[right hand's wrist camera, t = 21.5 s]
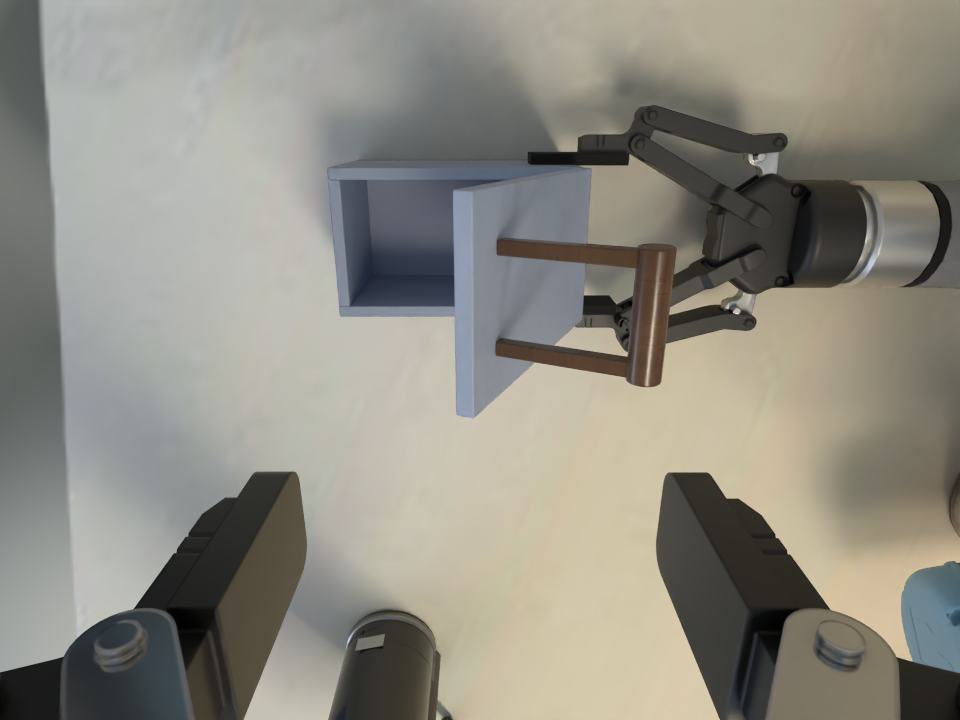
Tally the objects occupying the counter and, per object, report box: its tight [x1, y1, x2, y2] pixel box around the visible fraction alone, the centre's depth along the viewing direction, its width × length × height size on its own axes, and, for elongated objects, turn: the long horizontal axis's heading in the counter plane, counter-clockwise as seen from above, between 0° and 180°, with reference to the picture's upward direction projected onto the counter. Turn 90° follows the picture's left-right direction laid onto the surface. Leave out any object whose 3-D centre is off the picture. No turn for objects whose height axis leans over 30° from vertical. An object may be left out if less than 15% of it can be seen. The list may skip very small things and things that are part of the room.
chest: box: [327, 160, 583, 317], centre depth 44 cm, size 16×10×10 cm, turn 90°
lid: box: [453, 168, 676, 418], centre depth 30 cm, size 16×10×8 cm
